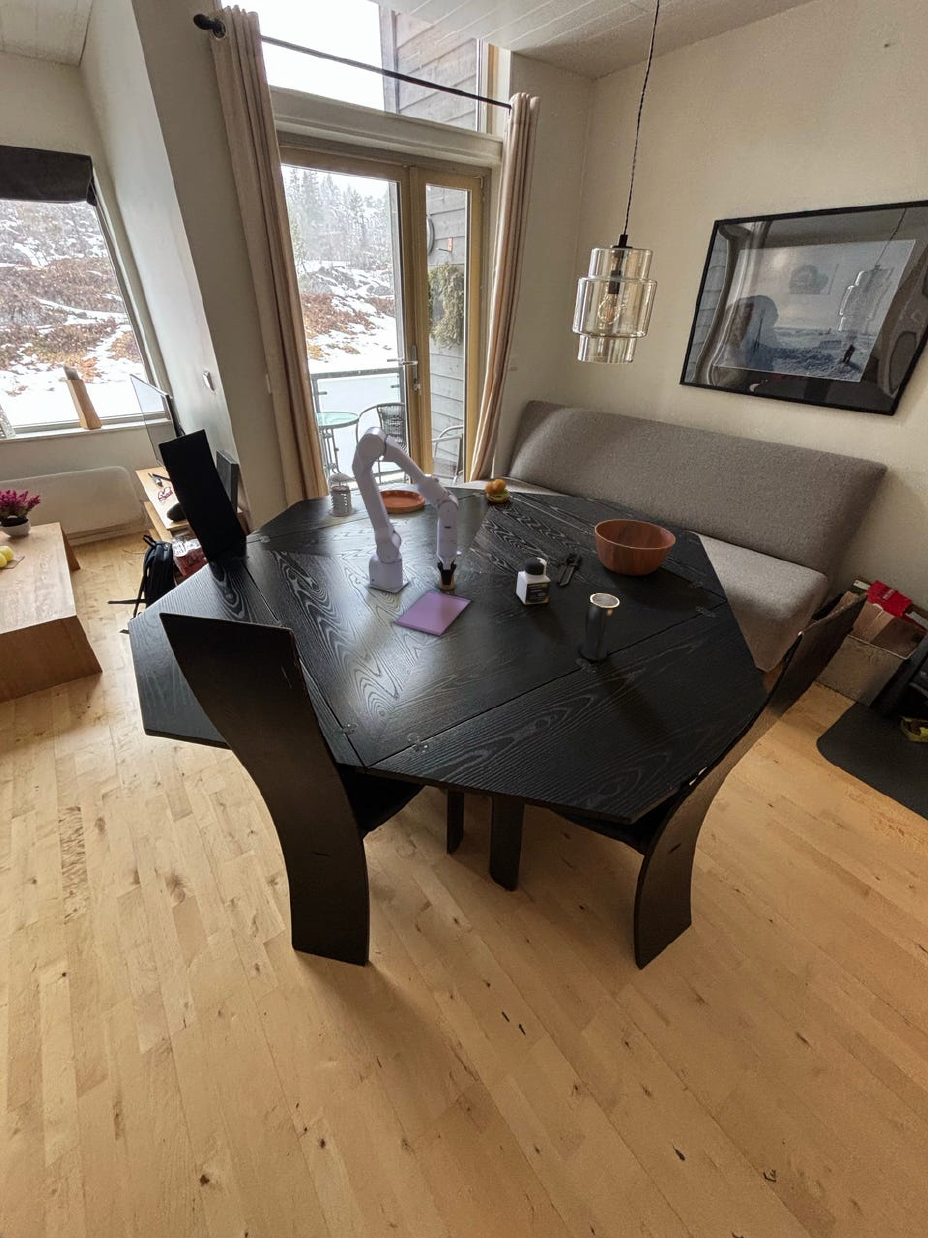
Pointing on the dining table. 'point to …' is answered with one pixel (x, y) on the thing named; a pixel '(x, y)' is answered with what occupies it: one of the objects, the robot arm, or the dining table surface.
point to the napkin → (433, 613)
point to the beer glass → (599, 625)
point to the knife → (570, 568)
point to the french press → (336, 492)
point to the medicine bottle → (533, 582)
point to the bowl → (632, 546)
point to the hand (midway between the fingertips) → (446, 581)
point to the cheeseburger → (497, 491)
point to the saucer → (402, 500)
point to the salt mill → (446, 587)
